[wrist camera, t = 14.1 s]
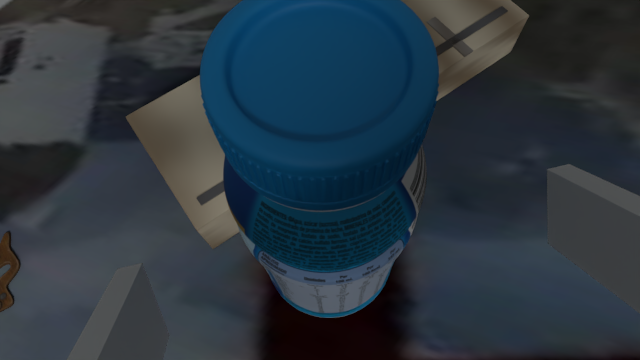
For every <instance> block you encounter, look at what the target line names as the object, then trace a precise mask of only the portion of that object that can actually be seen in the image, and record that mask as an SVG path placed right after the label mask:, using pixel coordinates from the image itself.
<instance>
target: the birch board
mask: <svg viewBox="0 0 640 360" xmlns="http://www.w3.org/2000/svg"><path fill="white" fill-rule="evenodd" d="M401 1H402V2H404V3H405V4H406V5H407V6H408V7H409V8H411V9H412V10H413V11H414V12H415V14H416V15H417V16H418V17H419V18H420V19H421V21H422V22H423V24H424V25H425V27H426V28H427V30H428V32H429V33H430V35H431V38H432V40H433V42H434V45H435V48H436V52H437V57H438V64H439V81H438V83H439V87H438V90H437V91H438V92H439V93H438V96H437V99H436V101H437V100H439V99H440V98H442V97H443V96H445V95H446V94H448V93H449V92H451V91H452V90H454V89H455V88H457V87H458V86H460V85H461V84H463V83H465V82H466V81H468V80H469V79H471V78H472V77H474V76H475V75H477V74H478V73H480V72H481V71H483V70H484V69H486V68H487V67H489V66H490V65H492V64H493V63H495V62H496V61H498V60H499V59H501V58H502V57H504V56H505V55H507V54H508V53H510V52H511V50H512V48H513V46H514V44H515V42H516V40H517V38H518V36H519V34H520V32H521V30H522V28H523V26H524V24H525V23H526V21H527V19H528V17H529V15H528V14H527V13H526V12H524V11H523V10H522V9H521V8H519V7H518V6H517V5H516V4H514V3H513V2H512V1H511V0H401ZM201 95H202V93H201V88H200V75H199V76H197V77H195V78H193V79H192V80H190V81H188V82H186V83H184V84H183V85H181V86H179V87H177V88H176V89H174V90H172V91H170V92H168V93H167V94H165V95H163V96H161V97H159V98H158V99H156V100H154V101H152V102H151V103H149V104H147V105H145V106H143V107H142V108H140V109H138V110H136V111H135V112H133V113H131V114H129V115H127V116H126V119H127V120H128V122H129V124H130V125H131V127H132V128H133V130H134V131H135V133H136V135H137V136H138V138H139V139H140V141H141V143H142V144H143V146H144V147H145V149H146V151H147V152H148V154H149V155H150V157H151V158H152V160H153V162H154V163H155V165H156V166H157V168H158V170H159V171H160V173H161V174H162V176H163V178H164V179H165V181H166V182H167V184H168V185H169V187H170V189H171V190H172V192H173V193H174V195H175V197H176V198H177V200H178V201H179V203H180V205H181V206H182V208H183V209H184V211H185V212H186V214H187V216H188V217H189V219H190V220H191V222H192V224H193V225H194V227H195V228H196V230H197V231H198V232H199V233H200V235H201V236H202V237H203V238H204V239H205V240H206V242H207V243H208V244H209V245H210V246H211V247H212V248H213V249H214V248H215V247H217V246H219V245H220V244H222V243H223V242H225V241H226V240H228V239H229V238H231V237H232V236H234V235H235V234H237V233H238V232H240V231H239V228H238V225H237V223H236V221H235V219H234V217H233V215H232V213H231V211H230V209H229V206H228V203H227V200H226V196H225V190H224V182H223V168H224V159H225V154H224V152H223V150H222V149H221V146H220V144H219V142H218V140H217V138H216V136H215V134H214V132H213V130H212V128H211V125H210V123H209V121H208V118H207V116H206V114H205V109H204V107H203V103H204V102H203V99H202V97H201Z"/></svg>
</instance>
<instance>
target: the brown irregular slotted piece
mask: <svg viewBox="0 0 640 360" xmlns="http://www.w3.org/2000/svg"><path fill="white" fill-rule="evenodd" d="M7 264H10V265H11V268H10V269H9V270H8V271H7V272H6V273H5V274H4V275H3V276H2V277H1V278H0V312H1V311H3V310H5V309H7V308H9V307H11V306H12V305H13V304H14V298H13V296H12V295H11V293H10V292H9V290H8V285H9V283H10V282H11V281H12V279H13V278H14V277H15V275H16V274H17V272H18V271H19V269H20V262H19V260H18V258H17V257H16V255H15V254H14V253H13V251H12V250H11V235H10V232H6V233H5V234H4V236H3V238H2V241H1V243H0V268H1V267H3V266H5V265H7Z"/></svg>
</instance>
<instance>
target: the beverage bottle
mask: <svg viewBox="0 0 640 360" xmlns="http://www.w3.org/2000/svg"><path fill="white" fill-rule="evenodd" d="M438 81H439V64H438V57H437V52H436V48H435V45H434V42H433V40H432V38H431V35H430V33H429V32H428V30H427V28H426V27H425V25H424V24H423V22H422V21H421V19H420V18H419V17H418V16H417V15H416V14H415V12H414V11H413V10H412V9H411V8H409V7H408V6H407V5H406V4H405V3H404V2H402V1H401V0H242V1H241V2H240V3H238V4H237V5H236V6H235V7H233V8H232V9H231V10H230V11H229V12H228V13H227V14H226V15H225V16H224V17H223V18H222V20H221V21H220V22H219V23H218V25H217V26H216V27H215V29H214V30H213V32H212V34H211V36H210V37H209V39H208V42H207V44H206V46H205V49H204V52H203V56H202V60H201V66H200V88H201V93H202V95H201V97H202V99H203V102H204V103H203V107H204V109H205V114H206V116H207V118H208V121H209V123H210V125H211V128H212V130H213V132H214V134H215V136H216V138H217V140H218V142H219V144H220V146H221V149H222V150H223V152H224V154H225V159H224V168H223V182H224V190H225V196H226V200H227V203H228V206H229V209H230V211H231V213H232V215H233V217H234V219H235V221H236V223H237V225H238V228H239V231H240V233H241V236H242V238H243V240H244V242H245V244H246V245H247V247H248V248H249V250H250V251H251V253H252V254H253V255H254V257H255V258H256V259H257V260H258V261H259V262H260V263H261V264H262V265H263V266H264V267H265V269H266V270H267V272H268V273H269V275H270V278H271V280H272V282H273V284H274V286H275V287H276V289H277V291H278V292H279V293H280V295H281V296H282V297H283V298H284V299H285V300H286V301H287V302H288V303H289V304H291V305H292V306H293V307H295V308H297V309H298V310H300V311H302V312H304V313H307V314H310V315H313V316H317V317H325V318H333V317H341V316H346V315H349V314H352V313H354V312H357V311H359V310H360V309H362V308H364V307H365V306H367V305H368V304H369V303H370V302H371V301H373V300H374V299H375V298H376V296H377V295H378V294H379V293H380V291H381V290H382V288H383V287H384V285H385V283H386V281H387V279H388V276H389V273H390V270H391V267H392V265H393V263H394V261H395V259H396V258H397V257H398V256H399V254H400V253H401V252H402V250H403V249H404V247H405V246H406V244H407V242H408V240H409V238H410V236H411V234H412V232H413V229H414V226H415V223H416V219H417V215H418V212H419V209H420V207H421V204H422V201H423V198H424V194H425V188H426V177H427V172H426V160H425V155H424V150H423V146H422V142H423V139H424V138H425V135H426V132H427V129H428V126H429V123H430V120H431V117H432V114H433V112H434V108H435V105H436V102H437V101H436V99H437V96H438V93H439V92H438V91H437V90H438V87H439V83H438Z"/></svg>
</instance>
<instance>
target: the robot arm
mask: <svg viewBox="0 0 640 360" xmlns="http://www.w3.org/2000/svg"><path fill="white" fill-rule="evenodd" d="M547 209H548V244H549V245H551V246H552V247H553V248H555V249H556V250H557V251H559V252H560V253H561V254H562V255H564V256H565V257H566V258H568V259H569V260H570V261H572V262H573V263H574V264H576V265H577V266H578V267H580V268H581V269H582V270H584V271H585V272H586V273H587V274H589V275H590V276H591V277H593V278H594V279H595V280H597V281H598V282H599V283H601V284H602V285H603V286H605V287H606V288H607V289H609V290H610V291H611V292H612V293H614V294H615V295H616V296H618V297H619V298H620V299H622V300H623V301H624V302H626V303H627V304H628V305H630V306H631V307H632V308H633V309H635V310H636V311H637V312H639V313H640V196H638V195H636V194H634V193H631V192H629V191H627V190H625V189H623V188H620V187H618V186H616V185H614V184H612V183H609V182H607V181H605V180H603V179H601V178H599V177H596V176H594V175H592V174H590V173H588V172H585V171H583V170H581V169H579V168H577V167H574V166H572V165H570V164H568V165H563V166H559V167H555V168H550V169H547ZM168 339H169V333H168V330H167V327H166V325H165V322H164V319H163V317H162V314H161V311H160V309H159V306H158V303H157V301H156V298H155V295H154V293H153V290H152V287H151V285H150V282H149V279H148V277H147V274H146V271H145V269H144V266H143V263H140V264H136V265H132V266H127V267H123V268H119V269H117V270H116V272H115V274H114V276H113V277H112V279H111V281H110V283H109V285H108V286H107V288H106V290H105V292H104V294H103V295H102V297H101V299H100V301H99V303H98V304H97V306H96V308H95V310H94V312H93V313H92V315H91V317H90V319H89V321H88V322H87V324H86V326H85V328H84V330H83V331H82V333H81V335H80V337H79V339H78V340H77V342H76V344H75V346H74V348H73V349H72V351H71V353H70V355H69V357H68V358H67V360H163V357H164V353H165V350H166V346H167V342H168Z"/></svg>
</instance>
